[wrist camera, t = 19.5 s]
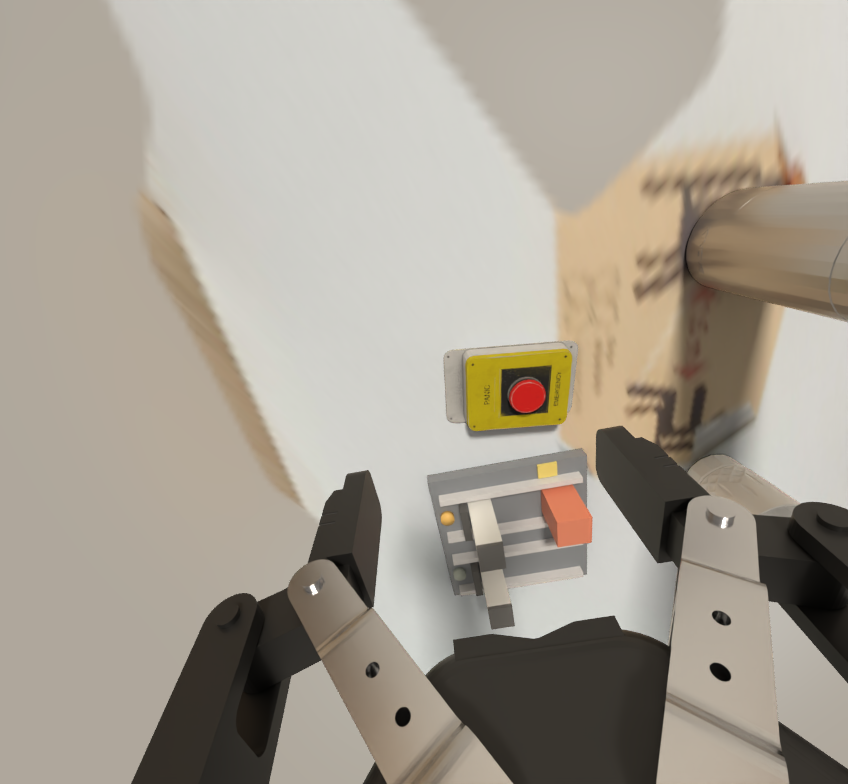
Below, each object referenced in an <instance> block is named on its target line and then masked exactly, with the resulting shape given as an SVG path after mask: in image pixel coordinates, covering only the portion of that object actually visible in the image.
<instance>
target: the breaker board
mask: <svg viewBox="0 0 848 784" xmlns="http://www.w3.org/2000/svg"><path fill="white" fill-rule="evenodd" d="M427 479H428V486H429V490H430V494H431V499H432V503H433V507H434V511H435V515H436V520H437V524H438V528H439V532H440V536H441V540H442V545H443V549H444V553H445V557H446V561H447V565H448V570H449V574H450V578H451V582H452V586H453V591H454V595H459V594H460V595H461V596H464V595H471V594H476V596H480V595H483V592H484V588H483V583H482V577H481V572H480V567H479V560H478V555H477V550H476V545H475V540H474V534H473V529H472V524H471V519H470V513H469V508H468V503H467V502H472V501H478V500H484V499H491V502H492V506H493V510H494V513H495V517H496V520H497V524H498V527H499V531H500V535H501V538H502V542H503V547H504V554H505V561H506V569H502V570H503V574H504V577H505V581H506V585H507V589H509V588H515V587H522V586H528V585H534V584H541V583H547V582H553V581H560V580H566V579H572V578H579V577H583V575H586V574H587V543H584V544H578V545H571V546H564V547H557V545H556V542H555V540H554V538H553V536H552V533H551V531H550V529H549V527H548V524H547V522H546V520H545V517H544V515H543V513H542V508H541V490H542V489H548V488H554V487H560V486H565V485H571V484H573V486H574V488H575V489H576V491H577V493H578V494H579V496H580V498H581V499H582V501H583V503H584V504H585V506H586V508H587V455H586V453H585V452H584V451H583V449H582V448H581V449H575V450H569V451H564V452H558V453H552V454H547V455H541V456H535V457H530V458H524V459H518V460H513V461H507V462H501V463H496V464H490V465H484V466H479V467H473V468H467V469H462V470H456V471H450V472H445V473H439V474H433V475H428V476H427Z"/></svg>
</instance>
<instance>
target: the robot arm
mask: <svg viewBox="0 0 848 784" xmlns="http://www.w3.org/2000/svg"><path fill="white" fill-rule="evenodd" d="M686 261H687V265H688V269H689V271H690V273H691V275H692V277H693V278H694V279H695V280H696V281H697V282H698V283H700V284H702V285H704V286H706V287H710V288H714V289H718V290H722V291H725V292H729V293H733V294H737V295H740V296H744V297H748V298H752V299H756V300H760V301H764V302H768V303H772V304H776V305H781V306H785V307H789V308H793V309H797V310H801V311H805V312H809V313H813V314H817V315H821V316H825V317H829V318H833V319H837V320H841V321H845V322H848V181H838V182H824V183H810V184H796V185H780V186H767V187H753V188H745V189H740V190H736V191H734V192H732V193H729V194H727V195H725V196H724V197H722V198H721V199H719V200H717V201H716V202H715V203H714V204H713V205H711V206H710V207H709V208H708V209H707V210H706V211H705V213H704V214H703V215H702V216H701V217H700V219H699V220H698V222H697V223H696V225H695V227H694V228H693V230H692V233H691V235H690V238H689V241H688V245H687V250H686ZM596 471H597V475H598V478H599V480H600V482H601V484H602V485H603V487H604V488H605V490H606V491H607V492H608V494H609V495H610V497H611V498H612V499H613V501H614V502H615V504H616V505H617V507H618V508H619V509H620V511H621V512H622V514H623V515H624V516H625V518H626V519H627V521H628V522H629V524H630V525H631V526H632V528H633V529H634V531H635V532H636V533H637V535H638V536H639V538H640V539H641V541H642V542H643V543H644V545H645V546H646V548H647V549H648V550H649V552H650V553H651V555H652V556H653V558H654V559H655V560H656V562H657V563H663V562H669V561H673V562H674V563H675V565H676V566H677V567H678V571H677V577H676V585H675V593H674V601H673V609H672V617H671V625H670V633H669V640H668V645H666V644H664V643H662V642H660V641H658V640H656V639H654V638H651V637H649V636H646V635H643V634H640V633H637V632H633V631H628V630H622V629H621V628H620V626H619V624H618V622H617V620H616V618H615V616H608V617H601V618H595V619H588V620H582V621H575V622H572V623H570V624H568V625H566V626H564V627H561V628H559V629H557V630H555V631H553V632H551V633H549V634H546V635H544V636H542V637H540V638H536V639H530V638H521V637H513V636H504V635H496V634H489V635H482V636H476V637H469V638H463V639H456V640H453V643H454V653H455V654H453V655H451V656H449V657H447V658H445V659H444V660H442V661H441V662H439V663H438V664H437V665H436V666H434V667H433V668H432V669H431V670H430V671H429V672H428V673H427V674H426V675H424V673H423V672H422V671H421V670H420V668H419V667H418V666H417V664H416V663H415V662H414V660H413V659H412V658H411V657H410V655H409V654H408V653H407V651H406V650H405V649H404V648H403V646H402V645H401V644H400V642H399V641H398V640H397V638H396V637H395V636H394V635H393V633H392V632H391V631H390V629H389V628H388V627H387V625H386V624H385V623H384V622H383V620H382V619H381V618H380V616H379V615H378V614H377V613H376V611H375V610H374V609H373V608H372V607H374V597H375V586H376V575H377V565H378V554H379V543H380V533H381V522H382V514H381V507H380V502H379V499H378V496H377V493H376V490H375V487H374V484H373V480H372V477H371V474H370V472H369V471H368V470H366V471H361V472H355V473H349V474H347V475H346V479H345V483H344V487H343V489H342V490H336V491H334V492H333V493H332V495H331V496H330V497H329V498H328V500H327V501H326V503H325V506H324V510H323V513H322V516H321V520H320V523H319V525H320V526H319V527H318V530H317V534H316V537H315V540H314V544H313V547H312V550H311V554H310V557H309V561H308V564H306V565H304V566H303V567H302V568H300V569H299V570H298V571H297V572H296V573H295V574H294V576H293V577H292V579H291V580H290V582H289V585H288V587H287V588H286V589H284V590H282V591H280V592H278V593H276V594H274V595H271V596H269V597H267V598H265V599H263V600H261V601H258V602H257V601H256V599H255V598H254V597H253V596H252V595H251V594H247V593H242V594H236V595H234V596H231V597H229V598H227V599H225V600H224V601H223V602H221V603H220V604H219V605H217V606H216V608H214V609H213V610H212V611H211V613H210V614H209V615H208V617H207V618H206V620H205V622H204V624H203V626H202V628H201V630H200V632H199V635H198V637H197V639H196V641H195V644H194V646H193V648H192V650H191V652H190V654H189V657H188V659H187V661H186V663H185V666H184V668H183V670H182V672H181V675H180V677H179V679H178V681H177V683H176V686H175V688H174V690H173V692H172V695H171V697H170V699H169V701H168V703H167V705H166V708H165V710H164V712H163V714H162V717H161V719H160V721H159V723H158V725H157V728H156V730H155V732H154V734H153V736H152V739H151V741H150V743H149V745H148V748H147V750H146V752H145V755H144V756H143V759H142V761H141V763H140V765H139V767H138V770H137V772H136V774H135V776H134V779H133V781H132V783H131V784H269V781H270V775H271V771H272V766H273V761H274V756H275V752H276V747H277V742H278V737H279V732H280V728H281V723H282V718H283V713H284V708H285V703H286V698H287V694H288V689H289V684H290V679H291V676H292V675H294V674H296V673H298V672H300V671H302V670H303V669H305V668H307V667H309V666H311V665H313V664H315V663H317V662H319V661H321V660H322V662H323V664H324V666H325V668H326V670H327V672H328V673H329V675H330V677H331V679H332V681H333V683H334V685H335V687H336V689H337V690H338V692H339V694H340V696H341V698H342V699H343V702H344V703H345V705H346V707H347V709H348V711H349V713H350V715H351V717H352V719H353V720H354V722H355V724H356V726H357V728H358V730H359V732H360V734H361V736H362V737H363V739H364V741H365V743H366V745H367V747H368V749H369V751H370V753H371V754H372V756H373V758H374V760H375V763H374V765H373V767H372V768H371V770H370V772H369V774H368V775H367V777H366V779H365V781H364V783H363V784H848V769H847V768H845V767H844V766H843V765H841V764H840V763H838V762H837V761H835V760H834V759H833V758H831V757H830V756H828V755H827V754H825V753H824V752H822V751H821V750H819V749H818V748H817V747H815V746H814V745H812V744H811V743H809V742H808V741H806V740H805V739H804V738H802V737H800V736H799V735H798V734H796V733H795V732H793V731H792V730H790V729H789V728H788V727H786V726H785V725H783V724H782V723H780V722H779V721H778V712H777V700H776V689H775V676H774V663H773V652H772V639H771V627H770V615H769V602H768V601H771V602H778V603H779V605H780V606H781V607H782V608H783V609H784V610H785V611H786V612H787V614H788V615H789V616H790V617H791V618H792V620H794V622H795V623H796V624H797V625H798V626H799V628H800V629H801V630H802V631H803V632H804V633H805V634H806V636H808V638H809V639H810V640H811V641H812V643H813V644H814V645H815V646H816V647H817V648H818V649H819V651H820V652H821V653H822V654H823V655H824V656H825V658H827V660H828V661H829V662H830V663H831V664H832V666H834V668H835V669H836V670H837V671H838V672H839V674H840V675H841V676H842V677H843V678H844V679H845V681H846V682H847V683H848V510H847V509H845V508H842V507H839V506H835V505H832V504H827V503H821V502H806V503H801V504H799V505H797V506H796V507H795V508H794V509H793V512H792V516H791V517H779V516H766V515H755V514H751V513H750V512H749V511H748V510H747V509H746V508H745V507H743V506H742V505H740V504H738V503H736V502H734V501H732V500H729V499H727V498H723V497H718V496H711V495H710V494H709V493H708V492H707V491H706V490H705V489H704V488H703V487H701V486H700V485H699V484H698V483H697V482H696V481H695V480H694V479H693V478H692V477H691V476H690V475H689V474H688V473H687V472H686V471H684V470H683V469H682V468H681V467H680V466H678V465H677V463H676V462H675V461H674V460H673V459H672V458H671V457H668V455H667V454H666V453H665V452H664V451H663V450H662V449H661V448H660V447H659V446H658V445H656V444H654V443H652V442H650V441H648V440H646V439H644V438H642V437H641V438H634V437H633V436H632V435H631V434H630V433H629V432H628V431H627V430H626V429H625V428H624V427H623V426H616V427H611V428H605V429H600V430H598V431H597V434H596Z"/></svg>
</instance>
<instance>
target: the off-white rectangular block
mask: <svg viewBox="0 0 848 784" xmlns="http://www.w3.org/2000/svg"><path fill="white" fill-rule="evenodd" d="M467 503H468V508H469V513H470V519H471V524H472V529H473V534H474V540H475V545H476V550H477V555H478V560H479V565H480V570H481V572H487V571H493V570H500V569H506V561H505V554H504V547H503V542H502V538H501V535H500V531H499V527H498V524H497V520H496V517H495V513H494V510H493V506H492V502H491V499H484V500H478V501H472V502H467Z"/></svg>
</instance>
